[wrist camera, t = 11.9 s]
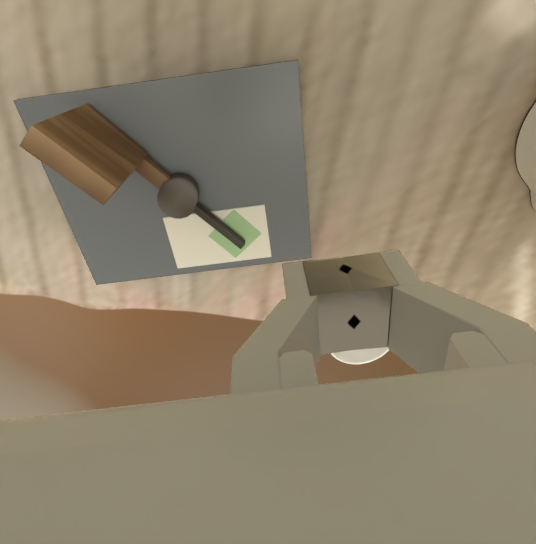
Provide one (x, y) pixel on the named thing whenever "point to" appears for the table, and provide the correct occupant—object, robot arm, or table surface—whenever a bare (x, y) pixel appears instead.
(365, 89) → the table surface
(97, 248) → the tuner board
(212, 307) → the table surface
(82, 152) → the lever
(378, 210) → the table surface
